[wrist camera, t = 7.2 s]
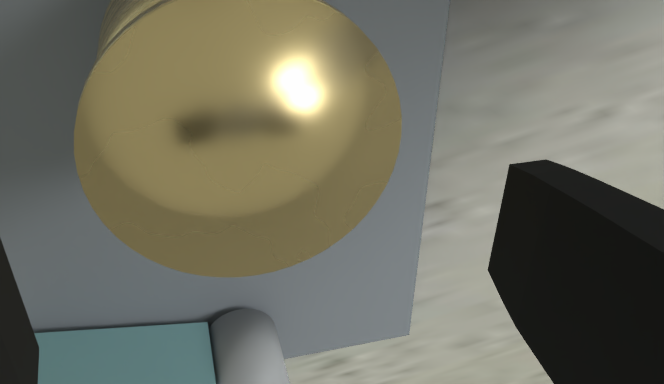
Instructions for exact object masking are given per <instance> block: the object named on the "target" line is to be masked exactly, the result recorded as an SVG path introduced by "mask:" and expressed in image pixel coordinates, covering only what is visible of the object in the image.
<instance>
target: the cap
mask: <svg viewBox="0 0 664 384" xmlns="http://www.w3.org/2000/svg"><path fill="white" fill-rule="evenodd" d="M401 130H402V115H401V107H400V99H399V95H398V91H397V88H396V84H395V81H394V79H393V76H392V74H391V72H390V69H389V67H388V65H387V63H386V62H385V60H384V58H383V57H382V55H381V54H380V52H379V50H378V49H377V47H376V46H375V45H374V44H373V43H372V42H371V41H370V39H369V38H368V37H367V36H366V35H365V34H364V32H363V31H362V30H361V29H360V28H359V27H358V26H357V25H356V24H355V23H354V22H353V21H352V20H350V19H349V18H348V17H347V16H346V15H345V14H343V13H342V12H341V11H340V10H338V9H336V8H335V7H333V6H332V5H330V4H329V3H327V2H325V1H324V0H111V1H110V3H109V5H108V7H107V9H106V11H105V15H104V18H103V21H102V24H101V30H100V36H99V42H98V50H97V58H96V61H95V63H94V65H93V67H92V69H91V71H90V73H89V75H88V77H87V79H86V81H85V84H84V87H83V90H82V93H81V96H80V99H79V103H78V109H77V116H76V122H75V128H74V156H75V162H76V168H77V173H78V176H79V179H80V182H81V185H82V188H83V191H84V193H85V195H86V197H87V199H88V201H89V203H90V205H91V207H92V208H93V210H94V211H95V213H96V214H97V215H98V217H99V218H100V220H101V221H102V222H103V224H104V225H105V226H106V227H107V228H108V229H109V230H110V231H111V232H112V233H113V234H114V235H115V236H116V237H117V238H118V239H119V240H121V241H122V242H123V243H124V244H126V245H127V246H128V247H129V248H131V249H132V250H134V251H136V252H137V253H139V254H141V255H142V256H144V257H145V258H147V259H149V260H152V261H154V262H156V263H158V264H160V265H163V266H165V267H168V268H171V269H174V270H178V271H181V272H185V273H190V274H195V275H200V276H209V277H246V276H255V275H260V274H265V273H270V272H275V271H278V270H281V269H284V268H287V267H291V266H294V265H296V264H298V263H301V262H303V261H305V260H308V259H310V258H312V257H313V256H315V255H317V254H319V253H321V252H323V251H324V250H326V249H328V248H329V247H330V246H332V245H333V244H335V243H336V242H338V241H339V240H341V239H342V238H343V237H344V236H345V235H347V234H348V233H349V232H350V231H351V230H352V229H354V228H355V227H356V226H357V225H358V223H359V222H360V221H361V220H362V219H363V218H364V217H365V216H366V215H367V214H368V212H369V211H370V210H371V208H372V207H373V206H374V205H375V203H376V202H377V201H378V199H379V197H380V196H381V194H382V192H383V190H384V189H385V187H386V185H387V183H388V181H389V179H390V176H391V174H392V172H393V169H394V166H395V163H396V159H397V156H398V153H399V147H400V141H401Z"/></svg>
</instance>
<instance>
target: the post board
mask: <svg viewBox="0 0 664 384" xmlns="http://www.w3.org/2000/svg"><path fill="white" fill-rule="evenodd" d="M110 1H111V0H0V238H1V241H2V244H3V247H4V249H5V252H6V255H7V258H8V261H9V264H10V266H11V269H12V272H13V275H14V278H15V281H16V283H17V286H18V289H19V292H20V295H21V297H22V300H23V303H24V306H25V309H26V312H27V314H28V317H29V320H30V323H31V326H32V329H33V331H34V333H45V332H60V331H76V330H92V329H107V328H123V327H138V326H154V325H170V324H185V323H201V322H208V329H209V328H210V326H211V325H212V324H213V323H214V321H216V320H217V319H218V318H219V317H221V316H222V315H224V314H226V313H229V312H231V311H235V310H239V309H255V310H259V311H262V312H264V313H266V314H267V315H269V316H270V317H271V318H272V320H273V321H274V324H275V327H276V331H277V335H278V339H279V343H280V347H281V350H282V354H283V358H284V359H287V358H292V357H297V356H303V355H308V354H313V353H318V352H323V351H328V350H334V349H339V348H344V347H349V346H354V345H359V344H365V343H370V342H375V341H380V340H385V339H390V338H396V337H401V336H406V335H409V331H410V323H411V315H412V307H413V299H414V291H415V283H416V274H417V266H418V258H419V250H420V242H421V234H422V226H423V217H424V209H425V201H426V193H427V185H428V177H429V169H430V161H431V152H432V144H433V136H434V128H435V120H436V112H437V104H438V96H439V87H440V79H441V71H442V63H443V55H444V47H445V39H446V31H447V22H448V14H449V6H450V0H324V1H325V2H327V3H329V4H330V5H332V6H333V7H335V8H336V9H338V10H340V11H341V12H342V13H343V14H345V15H346V16H347V17H348V18H349V19H350V20H352V21H353V22H354V23H355V24H356V25H357V26H358V27H359V28H360V29H361V30H362V31H363V32H364V34H365V35H366V36H367V37H368V38H369V39H370V41H371V42H372V43H373V44H374V45H375V46H376V47H377V49H378V50H379V52H380V54H381V55H382V57H383V58H384V60H385V62H386V63H387V65H388V67H389V69H390V72H391V74H392V76H393V79H394V81H395V84H396V88H397V91H398V95H399V99H400V107H401V115H402V130H401V141H400V147H399V153H398V156H397V159H396V163H395V166H394V169H393V172H392V174H391V176H390V179H389V181H388V183H387V185H386V187H385V189H384V190H383V192H382V194H381V196H380V197H379V199H378V201H377V202H376V203H375V205H374V206H373V207H372V208H371V210H370V211H369V212H368V214H367V215H366V216H365V217H364V218H363V219H362V220H361V221H360V222H359V223H358V225H357V226H356V227H355V228H354V229H352V230H351V231H350V232H349V233H348V234H347V235H345V236H344V237H343V238H342V239H341V240H339V241H338V242H336V243H335V244H333V245H332V246H330V247H329V248H328V249H326V250H324V251H323V252H321V253H319V254H317V255H315V256H313V257H312V258H310V259H308V260H305V261H303V262H301V263H298V264H296V265H294V266H291V267H287V268H284V269H281V270H278V271H275V272H270V273H265V274H260V275H255V276H246V277H209V276H200V275H195V274H190V273H185V272H181V271H178V270H174V269H171V268H168V267H165V266H163V265H160V264H158V263H156V262H154V261H152V260H149V259H147V258H145V257H144V256H142V255H141V254H139V253H137V252H136V251H134V250H132V249H131V248H129V247H128V246H127V245H126V244H124V243H123V242H122V241H121V240H119V239H118V238H117V237H116V236H115V235H114V234H113V233H112V232H111V231H110V230H109V229H108V228H107V227H106V226H105V225H104V224H103V222H102V221H101V220H100V218H99V217H98V215H97V214H96V213H95V211H94V210H93V208H92V207H91V205H90V203H89V201H88V199H87V197H86V195H85V193H84V191H83V188H82V185H81V182H80V179H79V176H78V173H77V168H76V162H75V156H74V128H75V122H76V116H77V109H78V103H79V99H80V96H81V93H82V90H83V87H84V84H85V81H86V79H87V77H88V75H89V73H90V71H91V69H92V67H93V65H94V63H95V61H96V58H97V50H98V42H99V36H100V30H101V24H102V21H103V18H104V15H105V11H106V9H107V7H108V5H109V3H110Z"/></svg>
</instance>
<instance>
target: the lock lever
mask: <svg viewBox="0 0 664 384" xmlns="http://www.w3.org/2000/svg"><path fill="white" fill-rule="evenodd" d="M34 334H35V337H36V340H37V343H38V345H39V366H38V384H290V381H289V377H288V374H287V370H286V366H285V362H284V358H283V354H282V350H281V347H280V343H279V339H278V335H277V331H276V327H275V324H274V321H273V320H272V318H271V317H270V316H269V315H267V314H266V313H264V312H262V311H259V310H255V309H239V310H235V311H231V312H229V313H226V314H224V315H222V316H221V317H219V318H218V319H217V320H216V321H214V323H213V324H212V325H211V326H210V328H209V329H208V322H201V323H185V324H170V325H154V326H138V327H123V328H107V329H92V330H76V331H60V332H45V333H34Z"/></svg>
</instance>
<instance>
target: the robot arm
mask: <svg viewBox="0 0 664 384" xmlns="http://www.w3.org/2000/svg"><path fill="white" fill-rule="evenodd" d="M488 271H489V274H490V276H491V278H492V280H493V282H494V284H495V286H496V288H497V291H498V293H499V295H500V297H501V299H502V301H503V303H504V305H505V307H506V309H507V311H508V313H509V315H510V317H511V318H512V320H513V322H514V324H515V326H516V328H517V329H518V331H519V332H520V334H521V335H522V337H523V338H524V340H525V341H526V343H527V344H528V346H529V347H530V349H531V350H532V352H533V353H534V355H535V356H536V358H537V359H538V361H539V362H540V364H541V365H542V367H543V368H544V370H545V371H546V373H547V374H548V376H549V377H550V378H551V380H552V381H553V383H554V384H664V210H663V209H661V208H659V207H657V206H655V205H652V204H650V203H648V202H646V201H644V200H641V199H639V198H637V197H635V196H633V195H630V194H628V193H626V192H624V191H622V190H619V189H617V188H615V187H613V186H611V185H608V184H606V183H604V182H602V181H599V180H597V179H595V178H592V177H590V176H588V175H585V174H583V173H581V172H578V171H576V170H573V169H571V168H568V167H566V166H563V165H561V164H558V163H555V162H552V161H549V160H540V161H532V162H525V163H517V164H510V165H509V170H508V174H507V179H506V184H505V189H504V194H503V199H502V204H501V208H500V213H499V218H498V223H497V228H496V233H495V237H494V242H493V247H492V252H491V257H490V262H489V267H488ZM38 366H39V345H38V343H37V340H36V337H35V334H34V331H33V329H32V326H31V323H30V320H29V317H28V314H27V312H26V309H25V306H24V303H23V300H22V297H21V295H20V292H19V289H18V286H17V283H16V281H15V278H14V275H13V272H12V269H11V266H10V264H9V261H8V258H7V255H6V252H5V249H4V247H3V244H2V241H1V238H0V384H38Z"/></svg>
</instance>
